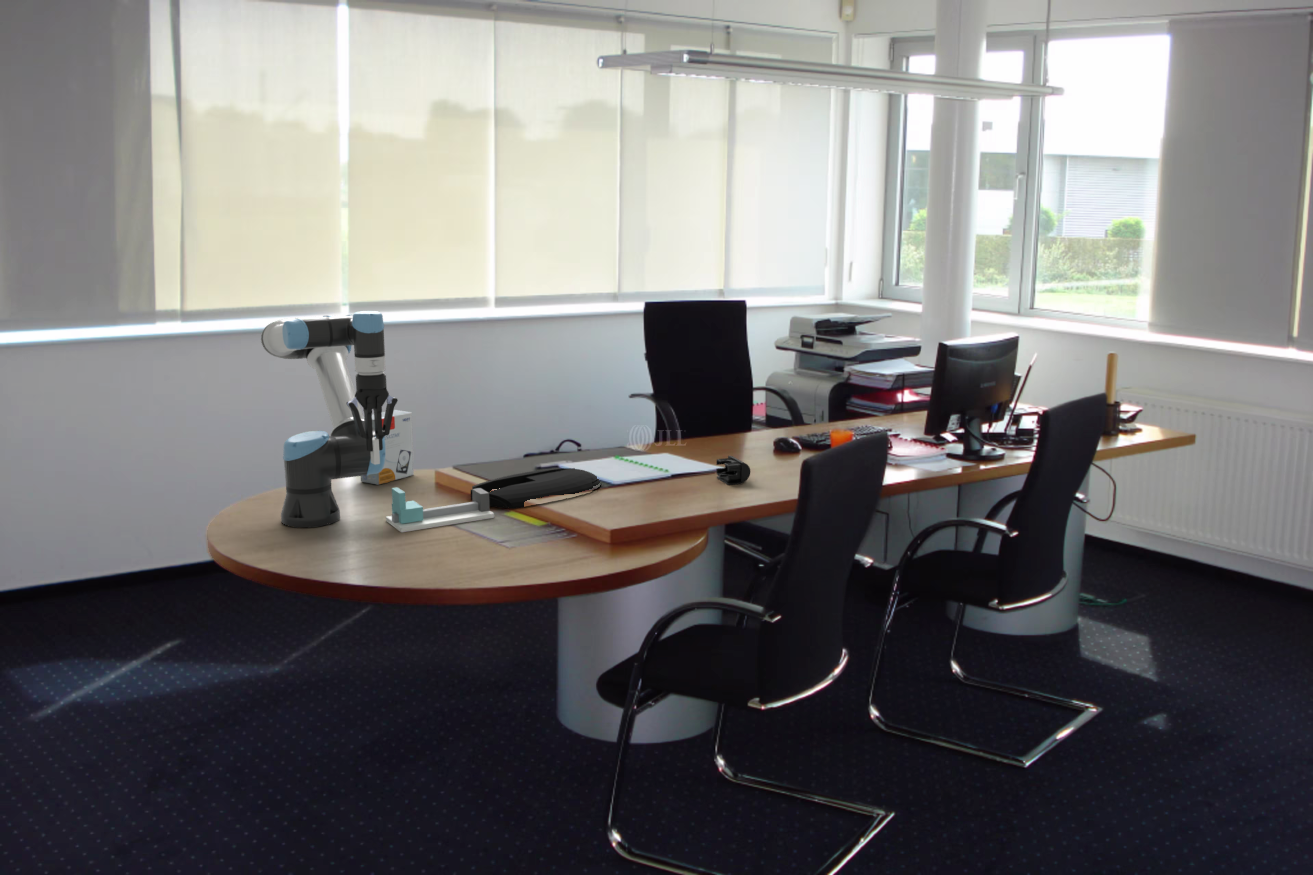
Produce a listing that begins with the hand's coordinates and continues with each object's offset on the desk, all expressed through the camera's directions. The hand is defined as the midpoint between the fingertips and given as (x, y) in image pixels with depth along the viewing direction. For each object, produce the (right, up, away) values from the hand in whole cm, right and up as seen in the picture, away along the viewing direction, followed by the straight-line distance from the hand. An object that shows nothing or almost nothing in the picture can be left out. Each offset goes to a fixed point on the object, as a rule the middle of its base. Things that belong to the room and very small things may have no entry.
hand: (375, 463), depth 306 cm
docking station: (+38, -10, +41) cm, 57 cm away
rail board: (+14, -15, +13) cm, 25 cm away
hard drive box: (-9, -6, +55) cm, 56 cm away
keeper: (+7, -15, +8) cm, 18 cm away
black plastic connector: (+96, -7, +53) cm, 109 cm away
